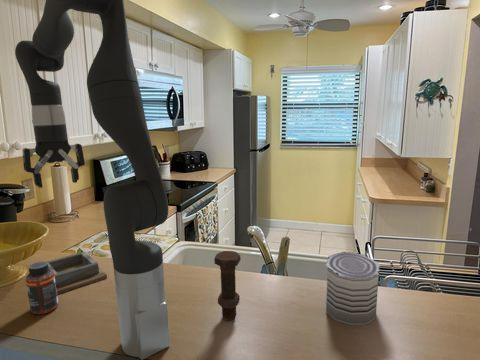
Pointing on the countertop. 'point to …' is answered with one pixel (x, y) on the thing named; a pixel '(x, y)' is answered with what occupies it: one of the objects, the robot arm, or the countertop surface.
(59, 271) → the socket board
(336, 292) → the can
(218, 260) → the bolt
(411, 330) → the countertop surface
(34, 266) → the supplement bottle
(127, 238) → the robot arm
